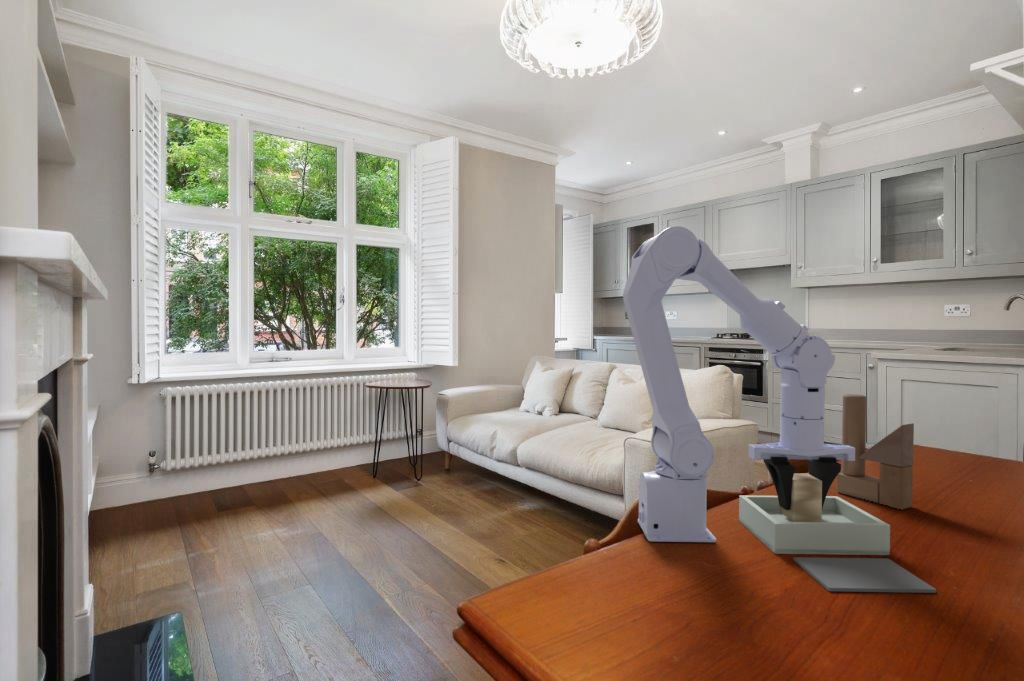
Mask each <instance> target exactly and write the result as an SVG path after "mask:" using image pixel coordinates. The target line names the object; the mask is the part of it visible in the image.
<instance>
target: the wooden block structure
mask: <svg viewBox="0 0 1024 681" xmlns="http://www.w3.org/2000/svg"><path fill="white" fill-rule="evenodd" d="M841 424H842V425H841V426H842V427H841V428H842V431H841V433H842V434H841V436H842V437H841V445H848V446H851V447H854V448H855V461H847V460H841V471H840V473H839V474H838V475H837V476H836V492H837V493H839V494H842V495H846V496H849V497H853V498H857V499H860V498H861V499H862V500H864V499H865V500H864V501H868V500H869V501H868V502H871V501H873V503H875V502H876V503H875V504H879V505H881V504H884V505H888V506H890V507H889V508H892V507H893V509H895V508H897V509H896V510H899V509H901V510H902V511H903V510H905V509H906V510H907V509H909V508H912V507H913V488H914V487H913V482H914V480H913V478H914V477H913V474H914V466H913V465H914V442H915V441H914V437H915V436H914V435H915V434H914V429H915V427H914V426H915V424H914V423H907V424H906V423H905V424H901V425H900V426H899V427H897V428H896V429H894V430H893V431H891V432H890V433H889V434H887V436H885V437H883V438H881V440H880V441H878V442H877V443H875V444H874V445H873V446H871V447H870V448H868V449H867V450H866V448H867V447H866V446H867V445H866V444H867V443H866V441H867V438H866V435H867V434H866V433H867V395H863V394H854V393H853V394H851V393H846V394H843V396H842V423H841ZM866 461H870V462H875V463H879V478H878V477H877V476H876V477H875V476H871V475H867V474H866ZM861 499H860V500H861ZM884 505H883V506H884ZM888 506H887V507H888ZM901 510H900V511H901Z"/></svg>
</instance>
